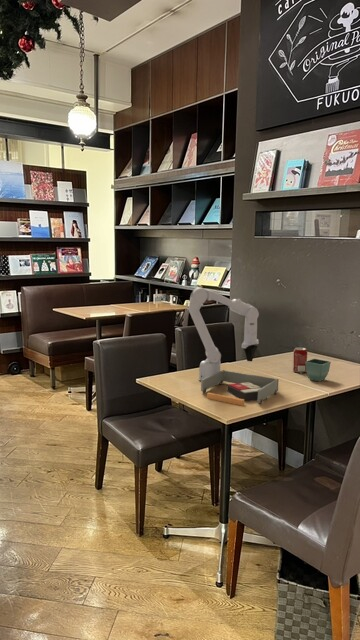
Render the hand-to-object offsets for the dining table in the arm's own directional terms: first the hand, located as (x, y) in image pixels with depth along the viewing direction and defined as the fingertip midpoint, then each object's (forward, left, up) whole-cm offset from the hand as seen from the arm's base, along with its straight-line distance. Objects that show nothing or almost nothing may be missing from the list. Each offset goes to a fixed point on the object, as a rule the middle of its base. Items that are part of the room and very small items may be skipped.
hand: (249, 360), depth 215 cm
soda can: (+14, +30, -10) cm, 34 cm away
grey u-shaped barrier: (+5, -21, -9) cm, 23 cm away
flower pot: (+26, +20, -10) cm, 34 cm away
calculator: (+8, -20, -10) cm, 24 cm away
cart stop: (+5, -34, -9) cm, 35 cm away
